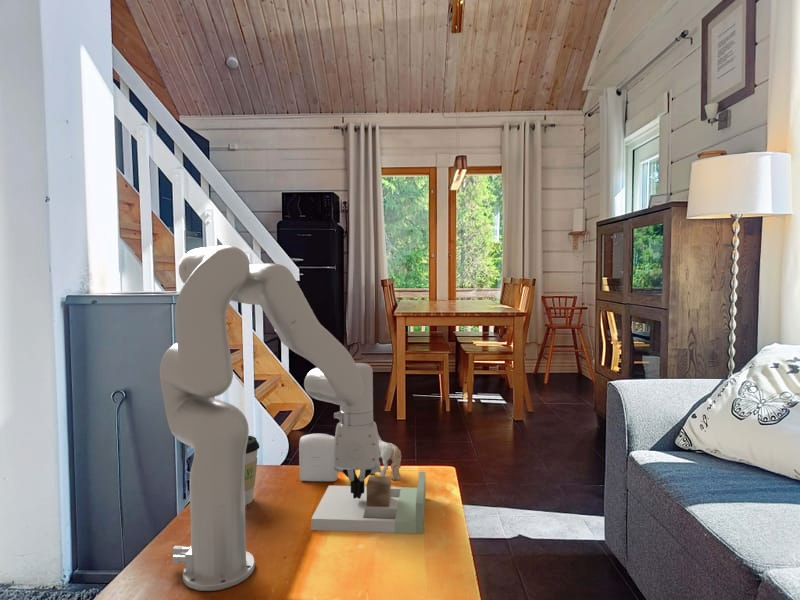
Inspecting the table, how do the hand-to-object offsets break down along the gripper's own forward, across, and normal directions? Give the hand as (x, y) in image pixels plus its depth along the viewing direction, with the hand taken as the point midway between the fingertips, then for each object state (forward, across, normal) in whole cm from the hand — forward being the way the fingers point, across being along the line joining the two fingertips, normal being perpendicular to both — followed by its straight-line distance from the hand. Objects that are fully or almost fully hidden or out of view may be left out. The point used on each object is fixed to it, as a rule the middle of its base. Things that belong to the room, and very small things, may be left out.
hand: (357, 495), depth 121 cm
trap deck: (+4, +3, 0) cm, 5 cm away
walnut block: (+1, +5, 0) cm, 5 cm away
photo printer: (+4, -13, +19) cm, 24 cm away
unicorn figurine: (+4, +1, +21) cm, 21 cm away
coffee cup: (+4, -30, +4) cm, 30 cm away
